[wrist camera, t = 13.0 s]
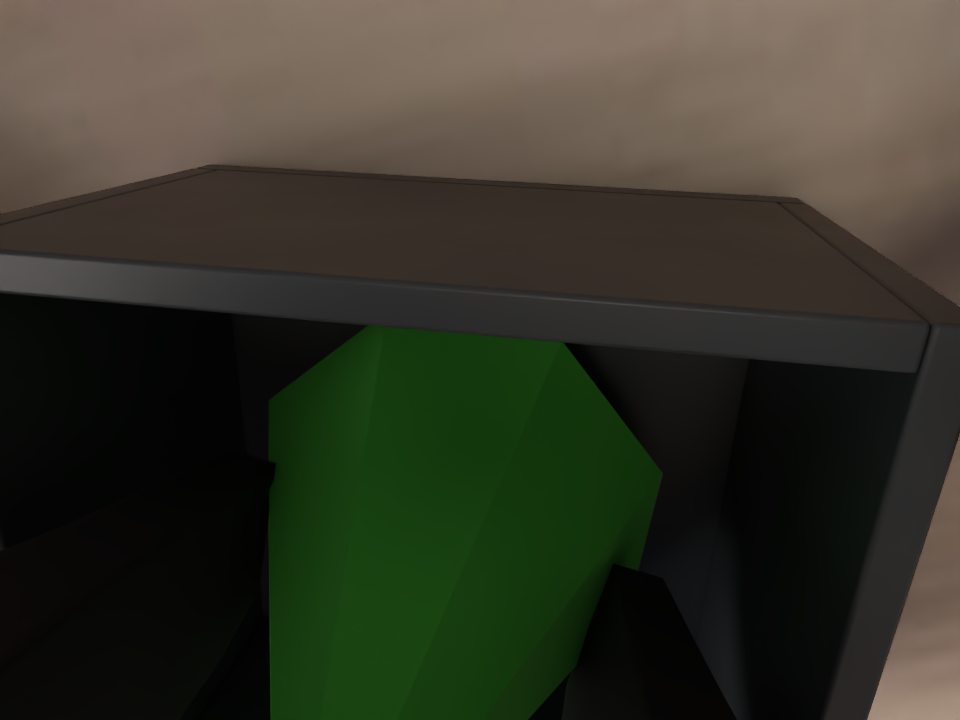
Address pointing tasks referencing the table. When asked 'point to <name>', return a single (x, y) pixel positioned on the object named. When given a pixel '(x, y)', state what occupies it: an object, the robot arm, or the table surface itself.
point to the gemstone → (443, 526)
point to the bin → (523, 315)
